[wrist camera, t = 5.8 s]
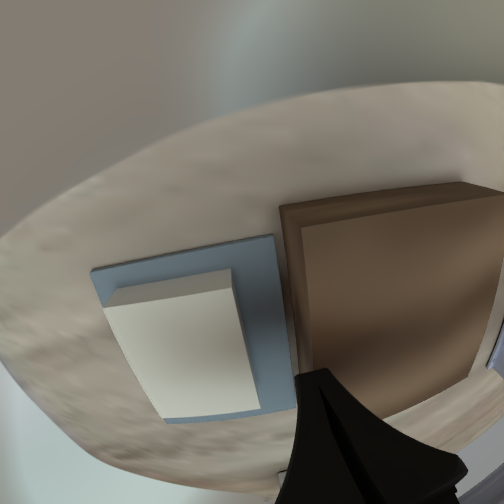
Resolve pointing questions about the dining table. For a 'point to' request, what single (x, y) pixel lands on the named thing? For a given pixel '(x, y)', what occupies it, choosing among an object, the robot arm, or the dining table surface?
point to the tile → (186, 344)
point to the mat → (250, 303)
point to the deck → (394, 287)
